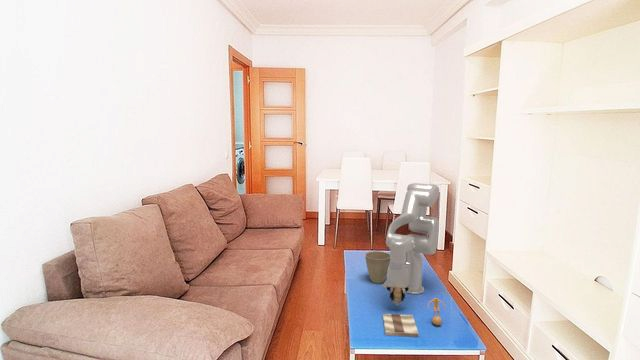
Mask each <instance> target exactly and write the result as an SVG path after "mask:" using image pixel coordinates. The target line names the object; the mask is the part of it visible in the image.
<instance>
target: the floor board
mask: <svg viewBox="0 0 640 360" xmlns="http://www.w3.org/2000/svg"><path fill="white" fill-rule="evenodd" d="M382 319H383V320H382V321H383V328H384V334H385V336H392V337H395V336H396V337H409V338H411V337H413V338H419V335H420V333H419V331H418V327H417V325H416V321H415V319H414V315H413V314H398V313H382Z"/></svg>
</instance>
